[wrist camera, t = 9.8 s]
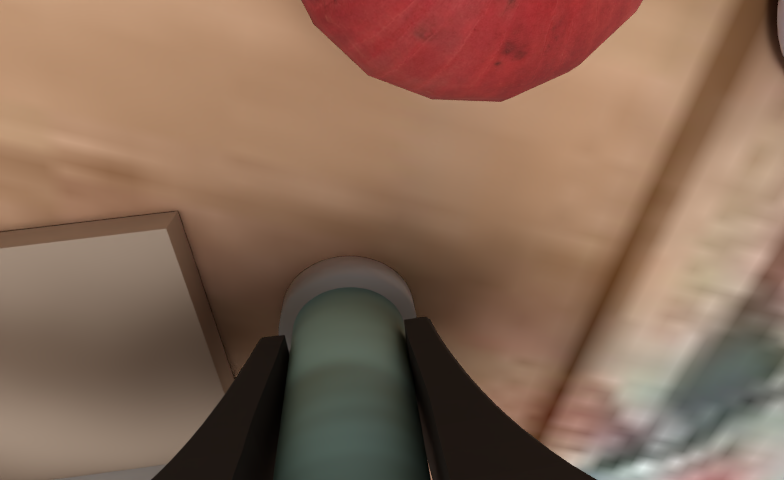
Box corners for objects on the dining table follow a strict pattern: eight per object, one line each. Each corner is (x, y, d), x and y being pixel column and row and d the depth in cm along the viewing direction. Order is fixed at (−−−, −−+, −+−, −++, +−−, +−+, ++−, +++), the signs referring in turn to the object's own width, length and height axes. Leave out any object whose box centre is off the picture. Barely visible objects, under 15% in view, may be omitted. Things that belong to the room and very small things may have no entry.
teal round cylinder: (417, 353, 16) (463, 586, 10) (295, 369, 16) (267, 614, 10) (408, 248, 14) (458, 458, 8) (269, 265, 14) (215, 490, 8)
